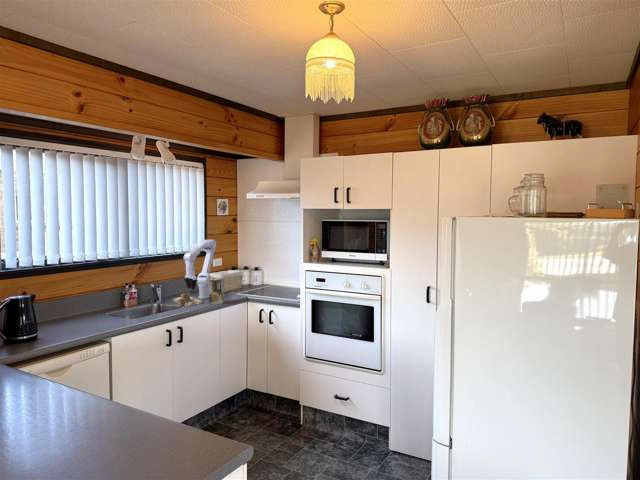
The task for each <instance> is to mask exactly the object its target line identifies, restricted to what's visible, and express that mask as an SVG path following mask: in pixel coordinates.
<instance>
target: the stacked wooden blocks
mask: <svg viewBox="0 0 640 480" xmlns="http://www.w3.org/2000/svg"><path fill="white" fill-rule="evenodd" d="M180 297H181V299H178V303H177V304H178V306H184V302H186V301H193V300H195V299H194V298H195V297H193V298H192V299H190V297H191V294H190V293H189V292H186V293H181V294H180Z"/></svg>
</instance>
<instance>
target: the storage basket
mask: <svg viewBox="0 0 640 480" xmlns="http://www.w3.org/2000/svg"><path fill="white" fill-rule="evenodd" d="M209 274H210V275H211V280H224V293H226V292H227V293H228V292H230V291H236V290H240V289H242V284H243V283H242V280H243V271H242V270H231V269H230V270H223V271H217V272H209Z"/></svg>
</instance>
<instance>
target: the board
mask: <svg viewBox="0 0 640 480" xmlns="http://www.w3.org/2000/svg"><path fill="white" fill-rule="evenodd" d="M192 298H194V299H195V300H193V301H186V302H184V305H183V306H184V307H189V306H190V305H191V306H195V304H197V305H202V303H203V304H204V302H203V299H200V298H195V297H193V296H190V299H192ZM178 299H181V296H179V297H174V298H172V301H173V302H174V301H175V302H174V303H176V302H177V303H176V304H178ZM191 306H190V307H191Z"/></svg>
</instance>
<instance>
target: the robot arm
mask: <svg viewBox="0 0 640 480" xmlns="http://www.w3.org/2000/svg"><path fill="white" fill-rule="evenodd" d="M216 249H217V242H216V239H201V241H200V244H198V245H197V247H193V248H192V249H190V251H189V252H186V253H184V255H183V256H182V257H183V261H184V263H185V275H184V278H183V281H184V282H185V285H186V287H187V289H191V290H192V291H193V290H196V287H197V286H198V292H199V293H198V295H199V296H197V299H199V300H204V299H210V298H209V283H208V282H209V281H210V280H211V275H210V270H211V266H212V263H213V258H214V254H215V252H216ZM202 250H203V251H204V252H205V253H206V255H205V258H204V262H203V266H202V270H201V272H200V273H198V276H196V275H195V272H196V271H195V261H196V258H197V257H198V256H199V255H200V254H201V251H202Z"/></svg>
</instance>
